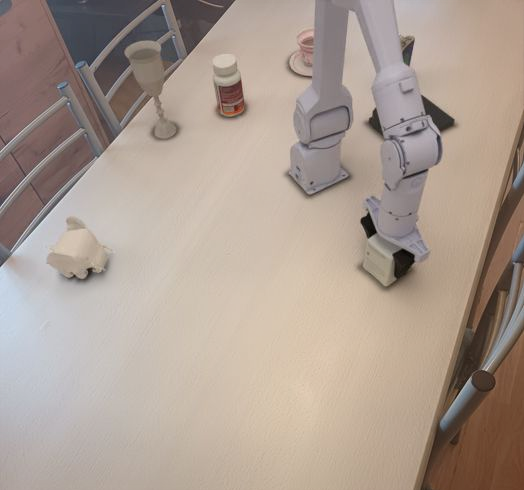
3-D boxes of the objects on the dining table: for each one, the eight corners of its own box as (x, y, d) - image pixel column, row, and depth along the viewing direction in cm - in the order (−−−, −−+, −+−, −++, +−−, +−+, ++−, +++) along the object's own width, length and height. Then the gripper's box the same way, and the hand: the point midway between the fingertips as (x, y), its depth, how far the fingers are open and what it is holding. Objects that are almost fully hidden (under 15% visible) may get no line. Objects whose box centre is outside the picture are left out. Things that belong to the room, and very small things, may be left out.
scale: (398, 151, 103) (400, 139, 101) (366, 123, 109) (367, 110, 106) (453, 125, 106) (456, 112, 103) (419, 99, 111) (421, 86, 109)
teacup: (281, 58, 124) (279, 32, 118) (323, 43, 125) (324, 17, 120) (303, 83, 118) (303, 56, 112) (347, 67, 119) (349, 40, 114)
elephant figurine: (107, 290, 91) (89, 258, 83) (48, 284, 93) (24, 252, 85) (124, 250, 95) (108, 216, 88) (67, 245, 97) (46, 211, 90)
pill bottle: (250, 108, 115) (245, 58, 105) (230, 121, 113) (223, 72, 103) (232, 97, 117) (225, 48, 107) (212, 110, 115) (204, 61, 105)
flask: (392, 98, 112) (399, 49, 103) (380, 94, 113) (386, 46, 104) (410, 76, 116) (418, 27, 107) (398, 73, 117) (406, 24, 108)
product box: (361, 267, 89) (365, 239, 83) (386, 250, 90) (392, 220, 84) (386, 288, 86) (392, 260, 80) (411, 270, 88) (419, 241, 81)
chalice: (183, 121, 114) (164, 39, 99) (178, 141, 111) (157, 59, 95) (153, 121, 115) (128, 41, 99) (146, 141, 112) (120, 60, 96)
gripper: (453, 221, 72) (433, 279, 84) (392, 165, 79) (381, 226, 91) (414, 241, 71) (399, 298, 83) (355, 183, 78) (349, 243, 89)
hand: (387, 261), depth 87 cm, fingers closed on product box, 6 cm apart
